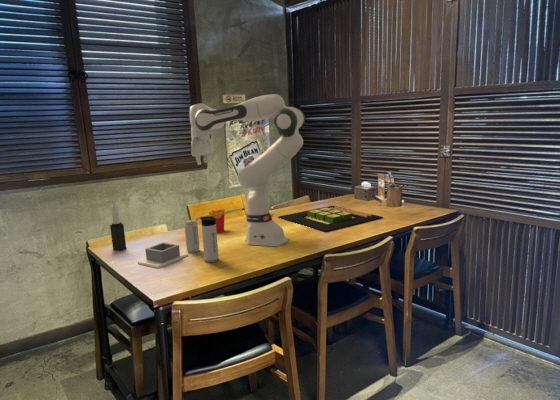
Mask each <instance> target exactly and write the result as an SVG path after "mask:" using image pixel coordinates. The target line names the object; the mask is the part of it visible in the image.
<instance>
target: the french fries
mask: <svg viewBox="0 0 560 400" xmlns="http://www.w3.org/2000/svg"><path fill="white" fill-rule="evenodd" d="M225 211H226V209H225V208H224V207H223V208H221V207H219V208H218V207H216V208H213V209H209V210H208V217H214V218H215V220H216V231H217V233H222V232H225V213H226V212H225Z"/></svg>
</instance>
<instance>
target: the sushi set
mask: <svg viewBox="0 0 560 400" xmlns="http://www.w3.org/2000/svg"><path fill="white" fill-rule="evenodd" d="M306 216H308V217H306ZM310 217H311V218H310ZM277 218H278V219H280V218H281V219H280V220H283V219H284V221H287V222H290V223H294V224H296V223H297V225H299V224H300V226H303V225H304V227H306V226H307V227H306V228H309V227H310V229H312V228H313V230H315V231H319V232H322V233H329V232H334V231H338V230H342V229H345V228H350V227H353V226H357V225H361V224H365V223H370V222H374V221H379V220H381V219H384V216H381V215H377V214H372V213H367V212H364V211H363V212H362V211H358V210H354V209H349V208H345V207H340V206H336V205H329V206H324V207H318V208H314V209H308V210H304V211H299V212H295V213H290V214H288V213H287V214H284V215H278V217H277ZM313 218H316V219H313ZM317 219H318V220H317ZM321 220H322V221H321Z"/></svg>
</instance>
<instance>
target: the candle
mask: <svg viewBox="0 0 560 400" xmlns="http://www.w3.org/2000/svg"><path fill="white" fill-rule="evenodd" d="M110 209H111V215H112V216H111V217H112V223H111V224H110V225H109V228H110V235H111V244H112V250H113V251H116V252H121V251H124V250H127V244H126V242H127V241H126V234H125V227H124V223H123V222H122V221H120V215H119V206H117V204H116V202H115V200H114V199H113V200H112V205H111V208H110Z"/></svg>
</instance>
